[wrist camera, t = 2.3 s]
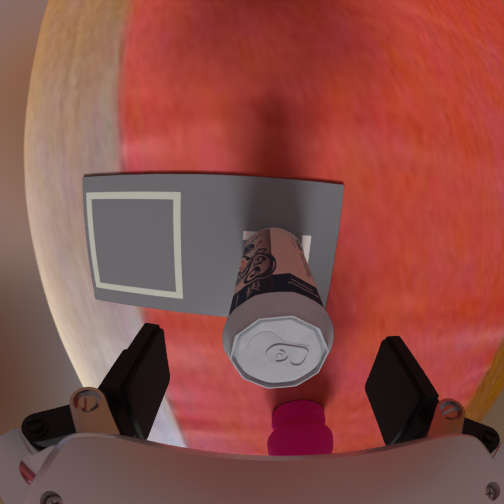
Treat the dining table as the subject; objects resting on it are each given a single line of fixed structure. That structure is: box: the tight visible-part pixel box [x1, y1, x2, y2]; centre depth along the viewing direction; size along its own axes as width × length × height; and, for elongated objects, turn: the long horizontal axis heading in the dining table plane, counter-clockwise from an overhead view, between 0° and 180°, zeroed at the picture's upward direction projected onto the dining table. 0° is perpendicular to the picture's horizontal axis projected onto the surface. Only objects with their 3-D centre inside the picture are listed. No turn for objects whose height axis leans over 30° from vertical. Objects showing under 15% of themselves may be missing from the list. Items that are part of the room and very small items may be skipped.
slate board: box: [83, 174, 344, 317], centre depth 22 cm, size 12×22×1 cm, turn 87°
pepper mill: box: [267, 400, 333, 456], centre depth 19 cm, size 7×7×20 cm
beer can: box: [222, 227, 334, 389], centre depth 16 cm, size 5×5×12 cm
